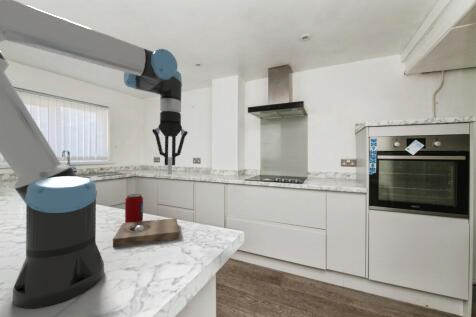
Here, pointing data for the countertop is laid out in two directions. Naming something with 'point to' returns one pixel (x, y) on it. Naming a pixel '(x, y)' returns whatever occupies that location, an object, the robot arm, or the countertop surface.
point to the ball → (139, 228)
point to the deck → (146, 232)
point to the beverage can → (134, 208)
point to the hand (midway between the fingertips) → (169, 174)
